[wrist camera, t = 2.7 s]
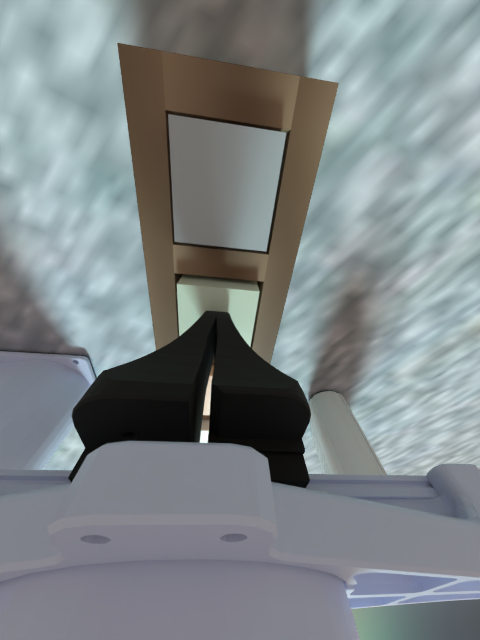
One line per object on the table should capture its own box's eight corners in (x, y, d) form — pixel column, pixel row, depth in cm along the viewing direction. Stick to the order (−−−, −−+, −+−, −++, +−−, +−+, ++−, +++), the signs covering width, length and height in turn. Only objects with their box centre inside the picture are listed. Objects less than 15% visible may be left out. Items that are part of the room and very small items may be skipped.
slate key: (183, 235, 11) (174, 241, 10) (180, 130, 9) (167, 114, 7) (261, 243, 12) (266, 251, 10) (276, 145, 9) (286, 132, 8)
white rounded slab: (342, 435, 28) (410, 582, 17) (310, 441, 28) (358, 587, 18) (342, 385, 23) (440, 549, 12) (304, 393, 23) (366, 557, 12)
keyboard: (179, 417, 25) (169, 457, 21) (157, 98, 11) (117, 42, 7) (244, 420, 25) (247, 459, 21) (303, 122, 11) (338, 82, 8)
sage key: (186, 332, 15) (180, 349, 13) (184, 272, 12) (176, 284, 11) (247, 336, 15) (248, 354, 13) (255, 279, 13) (259, 291, 11)
